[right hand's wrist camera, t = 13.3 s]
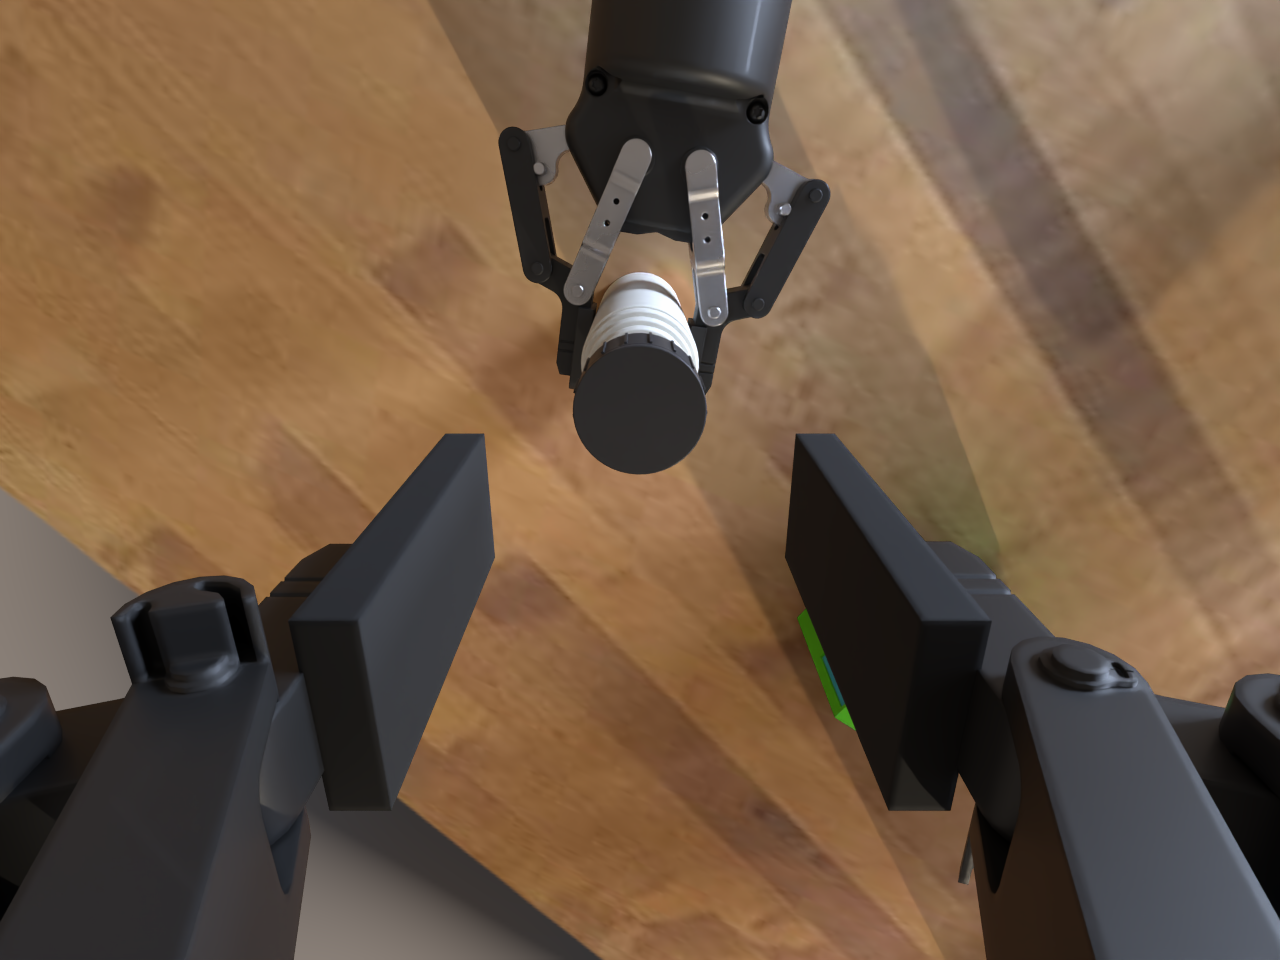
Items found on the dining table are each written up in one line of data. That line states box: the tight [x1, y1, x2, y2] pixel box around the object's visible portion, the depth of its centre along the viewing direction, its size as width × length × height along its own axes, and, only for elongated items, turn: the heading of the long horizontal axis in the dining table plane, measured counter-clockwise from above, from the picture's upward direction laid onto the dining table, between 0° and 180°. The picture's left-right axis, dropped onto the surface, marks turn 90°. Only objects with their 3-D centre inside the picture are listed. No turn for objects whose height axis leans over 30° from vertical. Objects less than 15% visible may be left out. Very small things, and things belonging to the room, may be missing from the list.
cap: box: [573, 332, 707, 474], centre depth 21 cm, size 4×4×2 cm
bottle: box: [581, 272, 699, 372], centre depth 29 cm, size 4×4×18 cm
